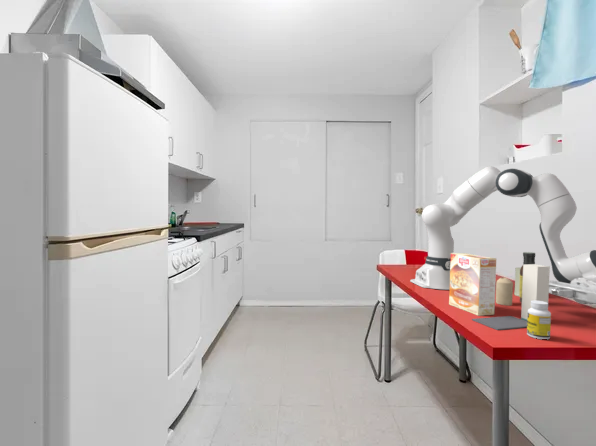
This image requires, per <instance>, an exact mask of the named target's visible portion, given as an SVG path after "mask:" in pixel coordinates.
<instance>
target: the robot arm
mask: <svg viewBox="0 0 596 446" xmlns="http://www.w3.org/2000/svg"><path fill="white" fill-rule="evenodd" d="M497 191H499V192H500V193H501V195H505V196H506V197H512V198H522V197H526V196H528V197H529V196H530V198H532V200H533V201H534V203H535V205H536V207H537V209H538V210H539V213H540V223H539V227H538V228H539V232H540V235H541V238H542V241H543V244H544V247H545V249H546V251H547V255H548V257H549V260H550V264H551V270H552V275H553V277H554V279H555V280H549V294H550V295H555V296H559V297H565V298H569V299H573V301H575V302H576V303H578V304H581V305H596V250H595V249H592V250H589V251H586V252H583V253H580V254H577V255H574V256H571V257H568V256H567V254H566V250H565V247H564V246H563V243H562V240H561V232H562V230H564V228H565V226H567V225H568V224H569V223H570V222H571V221H572V219H573V218H574V217H575V215H576V212H577V210H578V209H577V204H576V200H575V199H574V198H573V196H572V195H571V192H570V191H569V190H568V188H567V187H566V186H565V184H564V183H563V182H562V181H561V180H560V178H558V176H556V175H555V174H553V173H550V172H549V173H548V172H547V173H543V174H539V175H537V176H533V175H532V174H531V173H529V172H527V171H525V170H523V169H518V168H507V169H504V170H502V171H501V170H500V169H498V168H497V167H495V166H491V165H489V166H485V167H484V168H482V169H480V170H478V171H477V172H476V173H474V174H473V175H471V176H470V177H469V178H467V179H466V180H465V181H463V183H461V184H460V185H459V186H457V187H456V188H455V189H454V190H453V191H452V193H451V195H449V197H448V199H447V200H445V201H444V202H442V203H432V204H429V205H427V206H426V207H424V209H423V210H422V213H421V219H422V221H423V223H424V225H425V228H426V233H427V241H428V243H427V245H428V247H427V249H428V250H427V256H424V259H425V261H424V262H425V263H424V264H423V265H422V266H420V267H419V268H418V269H416V271H415V278H411V279H410V281H409V282H410V283H413V284H414V285H417V286H419V287H421V288H424V289H426V288H428V289H432V290H433V289H436V290H449V291H450V262H451V253H455V252H454V251H455V250H454V249H455V239H454V238H453V236H452V231H451V228H452V227H454V226H455V225H457V224H458V223H460V220H462V219H463V218H464V217H466V214H468V213H469V212H470V211H471V210H472V209H473V208H474V207H477V205H479V204H480V203H481V202H482V201H483V200H485V199H486V198H487V197H490V195H491V194H494V193H495V192H497Z"/></svg>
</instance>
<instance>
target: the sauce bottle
mask: <svg viewBox="0 0 596 446" xmlns="http://www.w3.org/2000/svg"><path fill="white" fill-rule="evenodd" d="M522 256H523V257H522V258H523V262H522V263H523V264H522V265H521V266H520V267H519V268H520V285H519V296H518V297H519V302H520V303H521V304H522V286H523V265H524V264H536V259H535V258H536V252H533V251H532V252H531V251H523V253H522Z"/></svg>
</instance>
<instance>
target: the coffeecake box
mask: <svg viewBox="0 0 596 446" xmlns="http://www.w3.org/2000/svg"><path fill="white" fill-rule="evenodd" d="M496 277H497V257H495V258H494V257H489V256H483V255H478V254H473V253H472V254H471V253H465V252H462V253H461V252H460V253H459V252H454V253H451V262H450V290H449V295H448V297H449V299H448V305H450V306H452V307H454V308H457V309H460V310H462V311H464V312H467V313H470V314H473V315H475V316H478V317H479V316H480V317H481V316H483V317H484V316H494V315H495V306H496V305H495V304H496V281H497V279H496Z"/></svg>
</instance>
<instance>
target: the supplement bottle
mask: <svg viewBox="0 0 596 446" xmlns="http://www.w3.org/2000/svg"><path fill="white" fill-rule="evenodd" d="M531 307H532V308H530V309H528V318H527V328H526V335H528V337H531V338H532V339H536V338H537V340H542V339H547V340H549V339H550V338H551V322H552V320H551V319H552V313H551V311H550V310H549V302H548V303H547V302H544V301H537V300H533V301H531ZM547 309H548V310H547Z"/></svg>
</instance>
